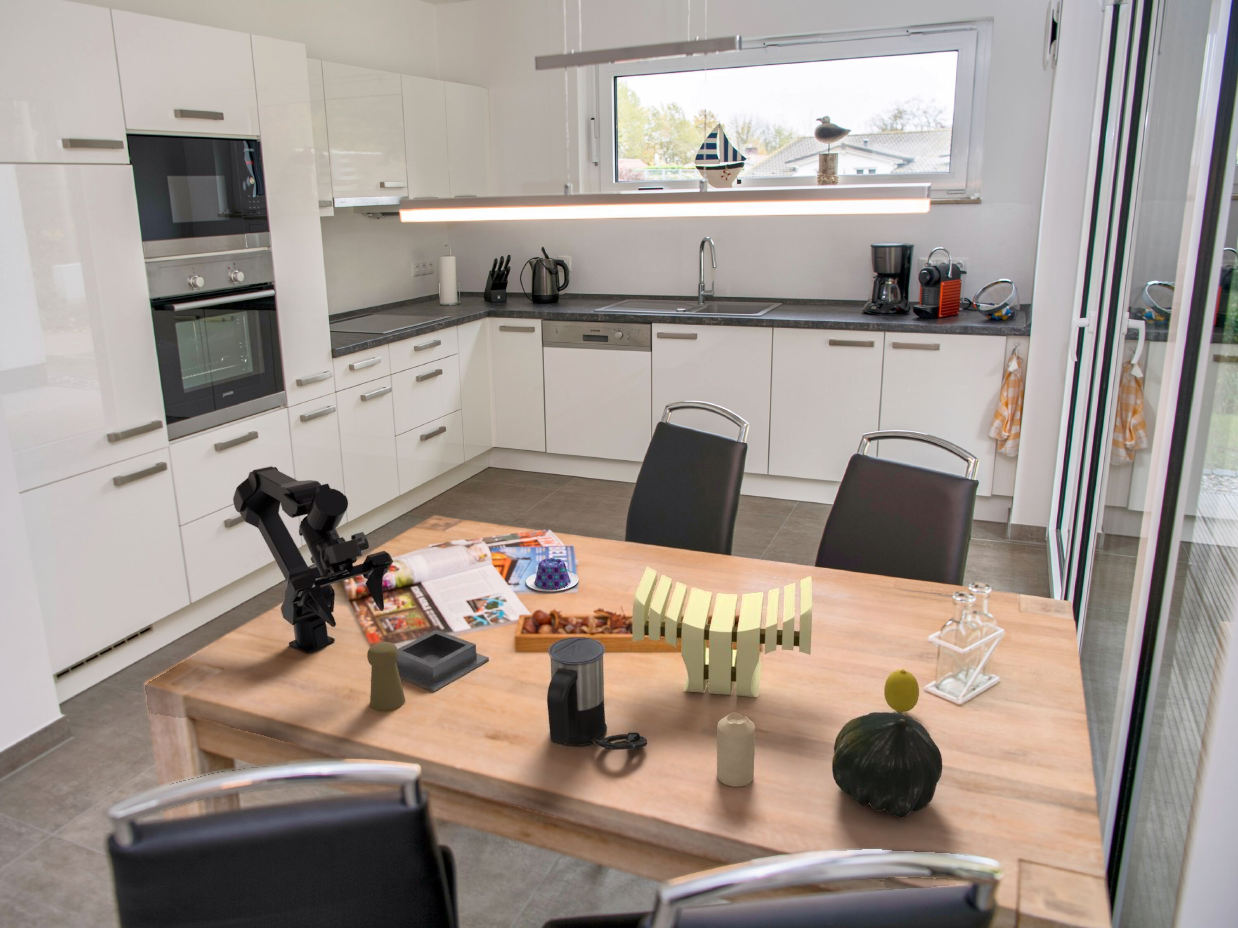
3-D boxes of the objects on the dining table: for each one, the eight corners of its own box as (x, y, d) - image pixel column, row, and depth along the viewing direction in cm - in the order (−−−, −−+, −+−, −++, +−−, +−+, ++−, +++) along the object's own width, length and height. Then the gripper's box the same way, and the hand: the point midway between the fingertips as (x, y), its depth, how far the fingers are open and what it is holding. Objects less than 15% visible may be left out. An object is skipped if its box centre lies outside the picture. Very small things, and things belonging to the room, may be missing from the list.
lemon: (899, 725, 149) (902, 681, 146) (875, 709, 153) (878, 666, 151) (924, 716, 151) (928, 673, 149) (900, 700, 156) (903, 658, 154)
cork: (396, 713, 155) (390, 655, 152) (363, 710, 156) (357, 652, 153) (411, 694, 161) (405, 638, 158) (379, 691, 162) (373, 636, 159)
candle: (713, 766, 139) (714, 708, 136) (749, 763, 139) (750, 706, 136) (720, 788, 134) (721, 728, 131) (757, 786, 134) (759, 726, 131)
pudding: (558, 598, 200) (557, 576, 198) (515, 587, 206) (514, 565, 204) (588, 579, 209) (588, 558, 208) (546, 569, 215) (546, 548, 214)
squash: (837, 719, 141) (839, 687, 128) (939, 737, 137) (951, 705, 124) (827, 813, 134) (828, 789, 121) (933, 835, 130) (946, 812, 117)
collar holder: (382, 669, 170) (380, 652, 169) (438, 640, 180) (436, 624, 179) (433, 691, 162) (432, 673, 161) (488, 660, 172) (487, 643, 171)
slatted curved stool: (633, 694, 159) (632, 601, 154) (648, 652, 174) (647, 565, 169) (808, 709, 154) (812, 613, 149) (807, 664, 169) (811, 575, 164)
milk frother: (554, 715, 154) (550, 635, 150) (647, 715, 153) (646, 635, 149) (544, 765, 140) (540, 679, 136) (647, 765, 139) (646, 679, 135)
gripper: (283, 534, 154) (319, 614, 149) (383, 508, 166) (419, 582, 161) (270, 565, 161) (304, 642, 157) (366, 538, 173) (400, 609, 169)
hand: (359, 617), depth 161 cm, fingers open, 9 cm apart
